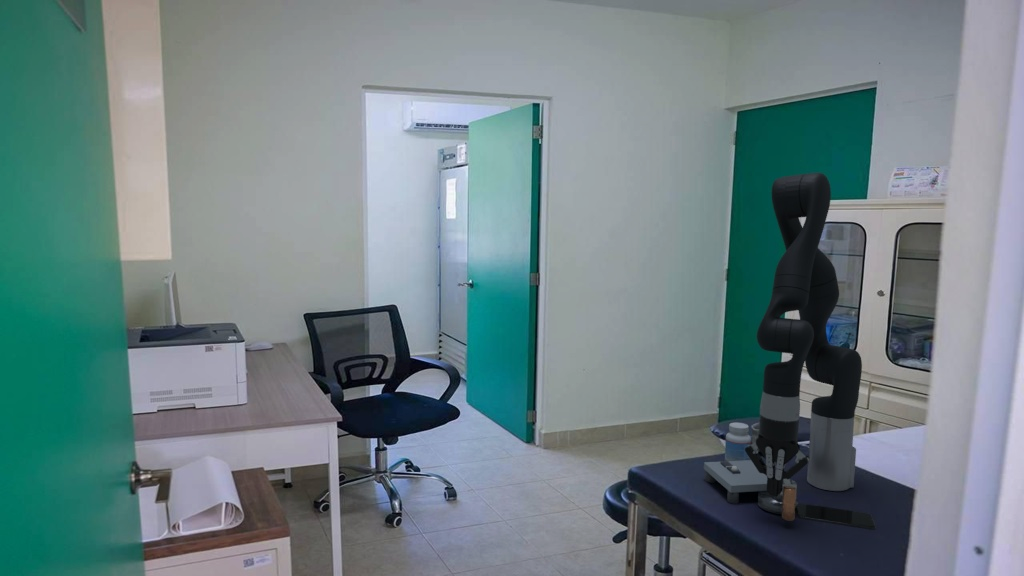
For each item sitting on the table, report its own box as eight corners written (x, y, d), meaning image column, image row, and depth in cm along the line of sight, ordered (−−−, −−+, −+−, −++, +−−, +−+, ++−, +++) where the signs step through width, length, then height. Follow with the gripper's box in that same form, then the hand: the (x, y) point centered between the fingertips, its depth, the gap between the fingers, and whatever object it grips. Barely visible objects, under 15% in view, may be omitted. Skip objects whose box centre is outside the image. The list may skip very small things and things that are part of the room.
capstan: (756, 496, 152) (758, 462, 151) (794, 501, 150) (796, 466, 149) (761, 524, 138) (763, 487, 138) (803, 529, 136) (805, 492, 135)
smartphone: (796, 519, 142) (876, 531, 137) (796, 515, 142) (876, 528, 137) (795, 505, 149) (871, 516, 144) (795, 502, 149) (871, 513, 144)
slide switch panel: (749, 476, 164) (750, 454, 164) (780, 501, 150) (782, 476, 150) (703, 479, 162) (704, 456, 162) (730, 504, 149) (731, 479, 148)
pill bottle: (751, 474, 166) (753, 429, 165) (725, 471, 167) (727, 428, 166) (748, 465, 172) (750, 422, 171) (723, 463, 173) (725, 420, 172)
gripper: (817, 415, 138) (811, 496, 140) (751, 404, 145) (746, 481, 147) (810, 425, 132) (804, 509, 134) (741, 412, 139) (736, 492, 141)
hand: (773, 494), depth 140 cm, fingers closed
